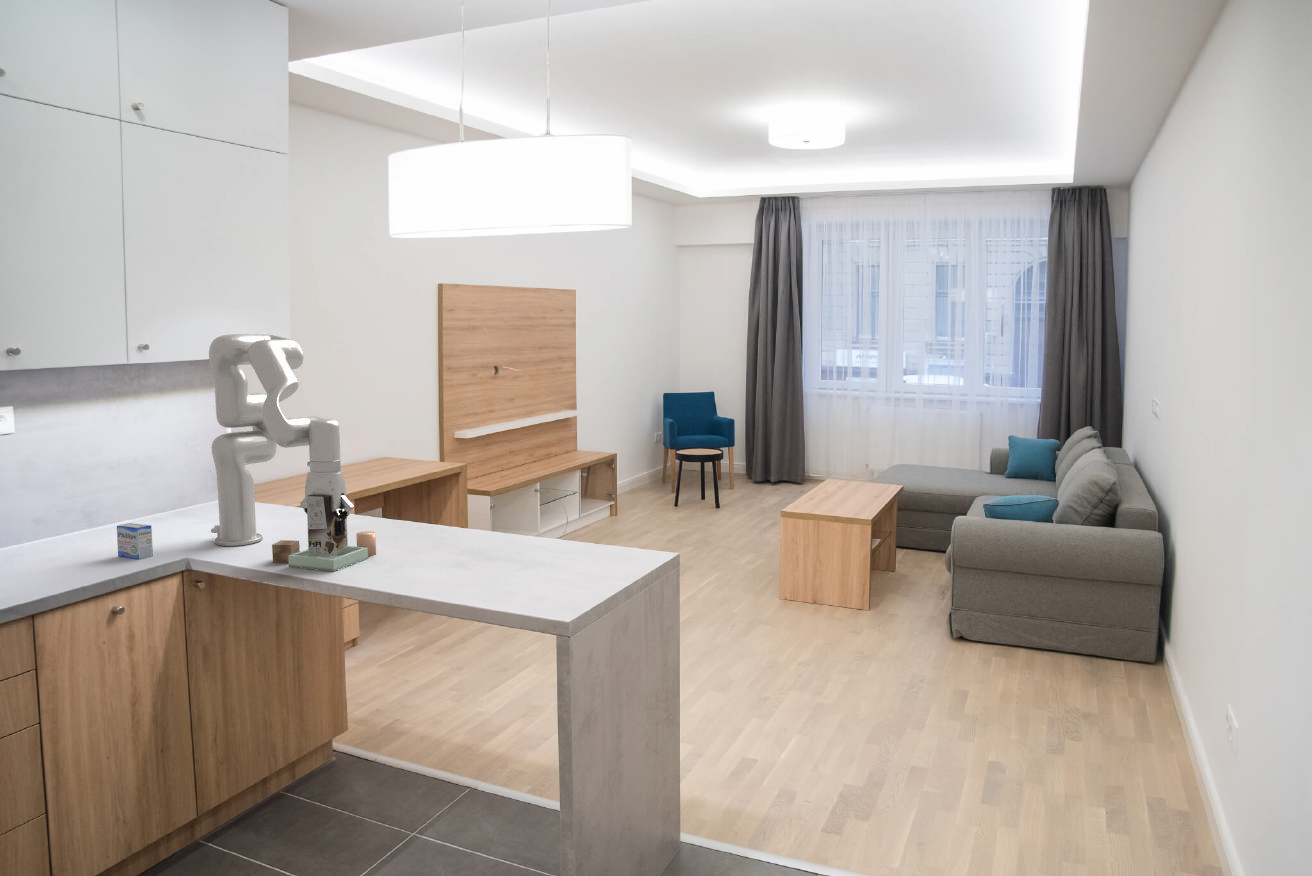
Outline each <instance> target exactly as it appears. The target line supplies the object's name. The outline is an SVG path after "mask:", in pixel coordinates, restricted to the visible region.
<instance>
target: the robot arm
mask: <svg viewBox="0 0 1312 876" xmlns="http://www.w3.org/2000/svg"><path fill="white" fill-rule="evenodd" d="M208 359H209V360H208V361H209V364H210V368H211V371H212V376H213V378H214V379H213V381H214V397H215V413H216V420H217V423H218V425H220V426H221V427H223V428H228V429H233V428H234V429H235V428H247V427H248V428H249V427H252V430H248V431H247V430H246V431H235V432H234V431H233V432H228V433H223V434H220V435H218V436H217V437H215V438H214V439H213V440H212V442H211V447H210V448H211V455H212V459H213V463H214V467H215V472H216V474H215V475H216V486H217V501H218V514H219V515H218V517H219V518H218V519H219V524H218V525H217V524H215V525H214V527H211V529H210V532H211V533H212V534H217V535H216V537H215V538H214V542H213V543H214V544H215V545H217V546H225V547H236V546H245V545H251V544H252V545H253V544H256V543H259V542H261V541H262V540H263V535H262V534H261V533H257V523H256V521H257V520H256V502H255V501H256V500H255V498H256V497H255V482H254V478H253V476H252V474H251V472H250V471H249V470H248V469H247V467H246V465H251V464H260V463H266V462H269V461H271V460H273V459H274V457H275V456H276V453H277V445H278V446H279V447H281V448H287V449H288V448H296V447H307V446H308V448H309V453H308V454H309V461H307V467H309V471H308V472H307V475H306V479H305V488H304V498H303V499H302V500H301V501H300V502H299V504H300V506H301V508H302V509H303V511H304V512H305V514H306V515H307V496H308V495H329V496H331V511H332V512H334V511H335V517H336V520H337V521H335V536H340V535H343V534H345V519H348V517H349V516H350V514H351V512H352V511H353V510H354V508H355V506H354V505H353V503H352V502H351V501H350V500H349V499H348V498H347V487H346V481H345V476H344V472H343V471H342V469H341V468H342V467H341V465H342V464H341V442H340V441H341V439H340V438H341V437H340V424H339V422H338V420H336V419H331V418H330V419H329V418H323V417H320V416H306V417H304V416H301V417H291V418H290V417H289V418H286V417H285V415H284V414H283V412H282V410H281V408H280V404H279V403H281V402H283V401H285V400H286V399H288V398H290V397H291V396H292V395H294V394H295V393H296V392H297V390H298V388H299V380H298V379H297V377H296V375H295V373H294V372H293V370H297V369H298V368H300V367H301V366H302V365H303V362H304V351H303V350H302V347H301V346H300V345H299V344H298V342H297V341H296V340H293V339H290V338H286V337H282V336H278V335H273V334H259V333H257V334H251V333H250V334H248V333H244V334H243V333H242V334H241V333H239V334H238V333H237V334H236V333H235V334H233V333H232V334H224V335H220V336H217V337H216V338H214V339H213V340H212V342H211V344H210V345H209V350H208ZM243 365H247V366H248V365H251V367H252V368H253V370H254V372H255V374H256V376H257V378H258V380H259V382H260V384H261V385H262V388H263V389H264V391H265V393H266V394H265V393H261V392H252V393H249V388H248V387H249V383H248V381H249V380H248V377H247V375H246V373H245V371H243V369H242V368H241V366H243ZM344 508H346V509H345V510H344ZM338 511H339V512H338ZM339 513H340V514H339Z"/></svg>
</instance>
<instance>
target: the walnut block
mask: <svg viewBox="0 0 1312 876" xmlns="http://www.w3.org/2000/svg"><path fill="white" fill-rule="evenodd" d="M300 547H301V546H300V540H290V539H289V540H287V539H286V540H283V539H282V540H278V541H277V542H274V543H273V544H271V549H272V550H271V551H272V564H289V559H288V555H291V554H294V553H297V552H300Z"/></svg>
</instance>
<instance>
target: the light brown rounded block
mask: <svg viewBox="0 0 1312 876" xmlns="http://www.w3.org/2000/svg"><path fill="white" fill-rule="evenodd" d="M376 534H377V533H376V532H375V531H371V530H370V531H369V530H367V531H360V532H357V533H356V547H365V548H368V558H370V556H371V557H374V556H373V555H375V556H376V555H377V537H376V536H377V535H376Z"/></svg>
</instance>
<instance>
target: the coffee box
mask: <svg viewBox="0 0 1312 876" xmlns="http://www.w3.org/2000/svg"><path fill="white" fill-rule="evenodd" d="M345 509H346V508H344V510H345ZM338 512H339V511H338ZM339 514H340V513H339ZM306 515H307V517H306V518H307V542H308V543H307V546H308V547H307V549H308V555H309V556H316V557H327V558H329V557H332V556H334V555H336V554H339V553H341V552H343V551H346V550H348V546H349V545H348V521H347V519H348V518H347V519H345V534H343V535H340V536H335V521H337V520H336V517H335V511H334V512H332V511H331V496H329V495H308V496H307V514H306Z"/></svg>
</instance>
